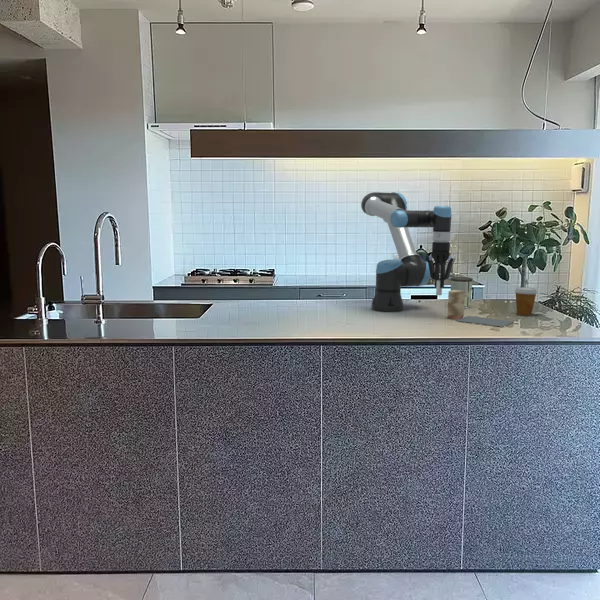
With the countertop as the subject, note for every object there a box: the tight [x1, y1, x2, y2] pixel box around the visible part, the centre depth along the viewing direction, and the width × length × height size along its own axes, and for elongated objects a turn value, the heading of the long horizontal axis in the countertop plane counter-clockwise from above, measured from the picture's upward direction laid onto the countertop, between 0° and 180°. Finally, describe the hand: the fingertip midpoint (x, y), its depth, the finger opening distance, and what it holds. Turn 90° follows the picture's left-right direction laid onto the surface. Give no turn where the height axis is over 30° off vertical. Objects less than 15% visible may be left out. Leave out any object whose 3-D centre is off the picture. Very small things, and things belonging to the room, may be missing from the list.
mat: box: [455, 315, 515, 328], centre depth 238 cm, size 20×14×1 cm
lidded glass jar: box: [450, 276, 473, 309], centre depth 275 cm, size 10×10×14 cm
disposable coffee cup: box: [514, 286, 538, 317], centre depth 255 cm, size 10×10×12 cm
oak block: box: [446, 290, 465, 321], centre depth 245 cm, size 5×6×12 cm
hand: (438, 294), depth 249 cm, fingers closed
